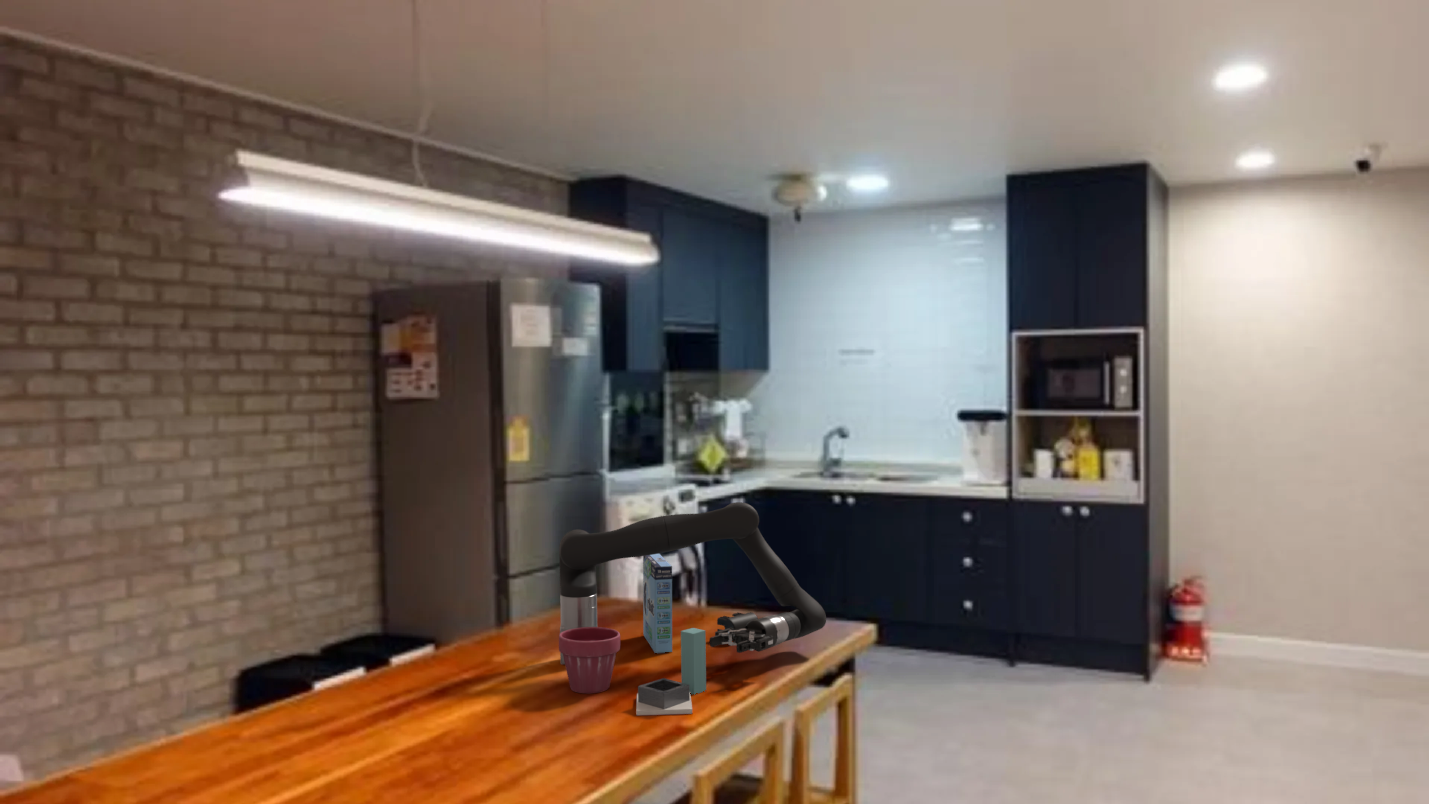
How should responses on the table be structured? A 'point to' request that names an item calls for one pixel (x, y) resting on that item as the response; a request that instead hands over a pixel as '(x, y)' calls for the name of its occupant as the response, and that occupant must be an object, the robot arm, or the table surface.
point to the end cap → (736, 621)
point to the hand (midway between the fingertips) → (724, 645)
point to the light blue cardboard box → (657, 603)
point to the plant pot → (589, 657)
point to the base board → (677, 709)
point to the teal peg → (693, 659)
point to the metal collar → (663, 693)
